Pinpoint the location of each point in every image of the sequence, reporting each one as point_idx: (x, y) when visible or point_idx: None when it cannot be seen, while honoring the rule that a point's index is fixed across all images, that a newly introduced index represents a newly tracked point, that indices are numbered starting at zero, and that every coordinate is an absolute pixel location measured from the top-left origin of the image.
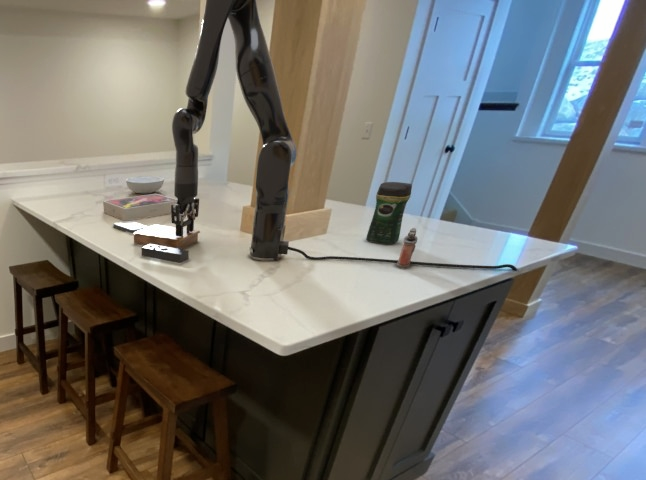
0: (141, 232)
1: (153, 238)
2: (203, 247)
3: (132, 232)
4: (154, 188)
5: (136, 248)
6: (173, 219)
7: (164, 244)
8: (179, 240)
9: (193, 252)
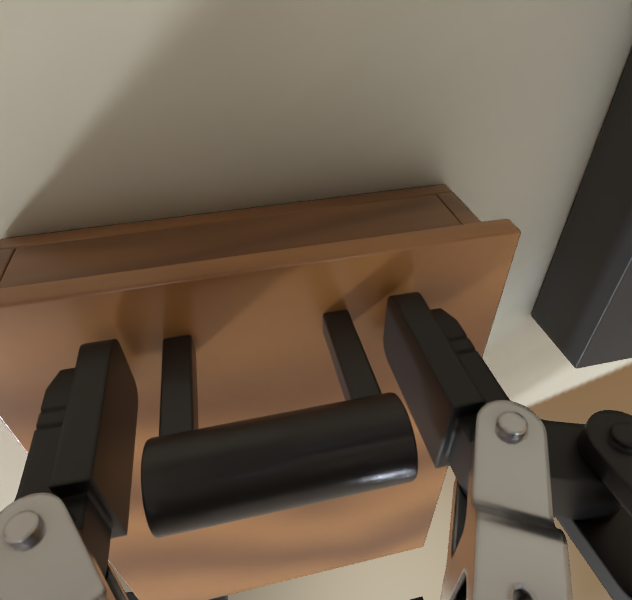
0: (400, 534)
1: None
2: (82, 49)
3: None
4: None
5: None
6: (615, 526)
7: None
8: (502, 227)
9: (359, 26)
